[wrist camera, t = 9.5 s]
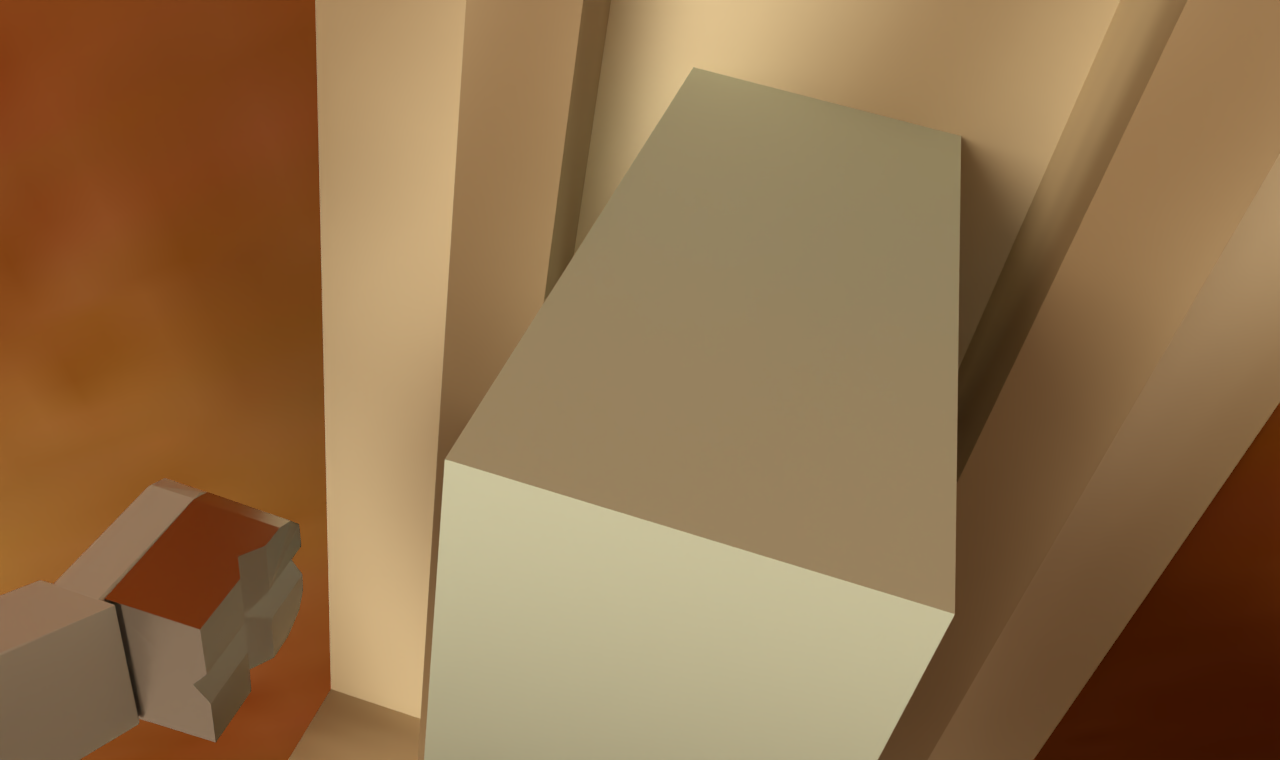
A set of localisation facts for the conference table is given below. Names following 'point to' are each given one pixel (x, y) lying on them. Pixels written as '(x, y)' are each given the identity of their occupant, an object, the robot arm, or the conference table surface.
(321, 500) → the conference table surface
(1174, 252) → the track frame
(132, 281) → the conference table surface
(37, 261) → the conference table surface
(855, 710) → the cream rectangular block
